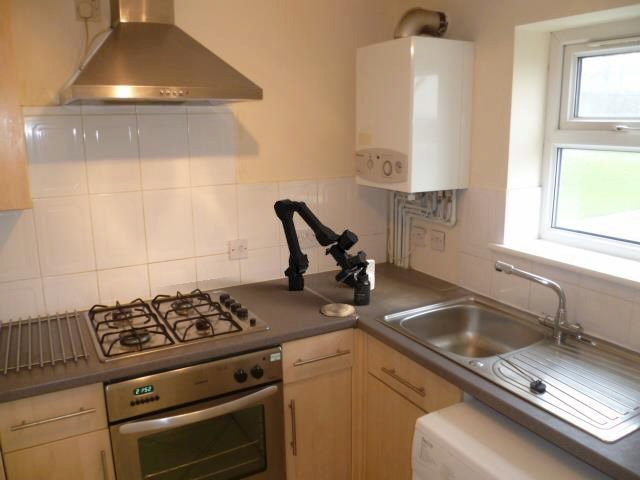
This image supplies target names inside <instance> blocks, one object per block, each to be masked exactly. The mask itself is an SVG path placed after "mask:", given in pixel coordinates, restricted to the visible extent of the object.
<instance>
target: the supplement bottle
mask: <svg viewBox="0 0 640 480" xmlns="http://www.w3.org/2000/svg"><path fill="white" fill-rule="evenodd" d="M368 277H369V275H368V274H367V273H358V274H357V276H356V279H357V280H356V281H357V282H358V284H359V285H360V287H361V290H360V291H359V290H357V289H355V288H353V292H352V295H353V296H352V300H353V304H355V305H357V306H368V305H370V303H371V292H372V291H371V283H370V281H369V280H368V279H369V278H368Z"/></svg>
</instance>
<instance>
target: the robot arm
mask: <svg viewBox="0 0 640 480" xmlns="http://www.w3.org/2000/svg"><path fill="white" fill-rule="evenodd" d="M273 209H274V213H275V216H276V217H277V218H278V219H279V220H280V222H281V224H282V229H283V232H284V236H285V240H286V244H287V248H288V252H289V255H288V256H289V258H288V267H287V268H286V269H285V270H284V276H285V277H286V278H287V289H288V291H289V292H292V291H293V292H296V291H304V288H305V277H304V275H303V274H306V271H307V270H308V269H309V268H310V267H309V263H310V260H309V259H308V254H307V253H303V251H302V250H301V247H300V242H299V238H298V234H297V230H296V226H295V222H294V214H295V212H296V213H297V214H298V215H299V217H300V218H301V219H302V220H303V221H304V222H305V223H306V225H307V226H308V227H309V228H310V229H311V230H312V231H313V233H314V238H315V239H316V241H317V242H318V244H319V245H320V246H321V247H322V248H323V247H324V248H325V253H324V254H325V256H328V255H331V257H332V258H333V259H334V261H335V263H336V264H335V266H336V267H339V268H340V269H341V270H340V271H339V272H338V273H336V275H335V276H334V280H335V281H336V283H337V284H339V283H341V284H345V285H347V286H350V287H351V288H353V289H354V288H355V289H357V290H359V291H360V290H361V287H360V285H359V284H358V282H357V281H356V279H355V278H354V272H355V273H356V274H358V273H366V270H367V266H368V265H369V263H368V262H367V260H368V259H367V253H366V252H365V251H364V250H363V249H362V250H359V251H357V254H355V255H353V254H351V253H348V252H347V251H350V250H351V249H352V248H353V247H354V246H355V245H356V244H357V243H358V242H359V237H358V235H357V233H354V232H352V231H350V230H349V229H348V228H346V229H345V230H344V231H342V233H341V234H337V233H336V232H335V231H333V229H331V228H330V227H329V226H326V225H325V224H323V223H322V222H321V220H320V219H319V218H318V217H317V216H316V215H315V214H314V213H313V212H312V210H311V209H310V208H309V207H308V206H307V204H306V202H304V201H298V200H291V199H289V198H285V199H280V200H276V201H275V203H274V205H273ZM335 243H336V244H335ZM329 246H330V247H329ZM356 276H357V275H356ZM368 280H369V279H368Z"/></svg>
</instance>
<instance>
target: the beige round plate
mask: <svg viewBox="0 0 640 480" xmlns="http://www.w3.org/2000/svg"><path fill="white" fill-rule="evenodd" d="M355 311H356V309H355V307H354V306H353V305H350V304H347V303H346V304H345V303H329V304H326V305H323V306H322V307H321V308H320V312H321V314H322V313H323V314H322V315H324V316H327V317H331V318H346V317H350V316H352V315H354V314H355Z"/></svg>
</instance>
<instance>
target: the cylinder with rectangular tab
mask: <svg viewBox="0 0 640 480" xmlns="http://www.w3.org/2000/svg"><path fill="white" fill-rule="evenodd" d="M366 260H367V262H368V263H369V265H368V266H367V270H366V273H367V274H368V275H369V277H368V278H369V281H370V283H371V290H373V289H375V264H376V261H375V260H374V259H366ZM356 275H357V274H356V273H355V272H354V278H355V279H356ZM356 280H357V279H356Z"/></svg>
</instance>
